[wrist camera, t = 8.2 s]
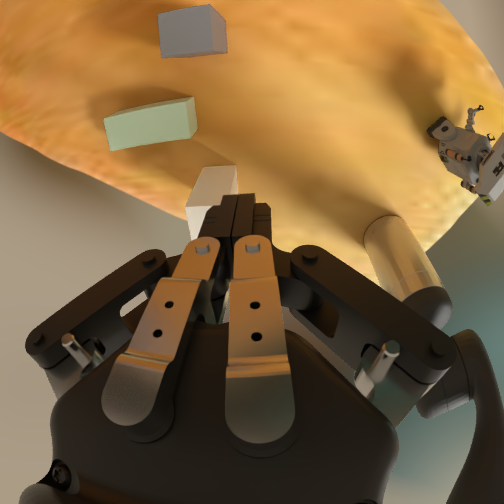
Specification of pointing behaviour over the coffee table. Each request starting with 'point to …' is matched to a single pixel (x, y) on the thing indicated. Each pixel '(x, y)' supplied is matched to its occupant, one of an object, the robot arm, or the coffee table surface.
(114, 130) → the sage green pillar
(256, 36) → the coffee table surface
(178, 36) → the slate grey pillar
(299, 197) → the coffee table surface
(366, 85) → the coffee table surface
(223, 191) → the off white pillar
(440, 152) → the figurine
